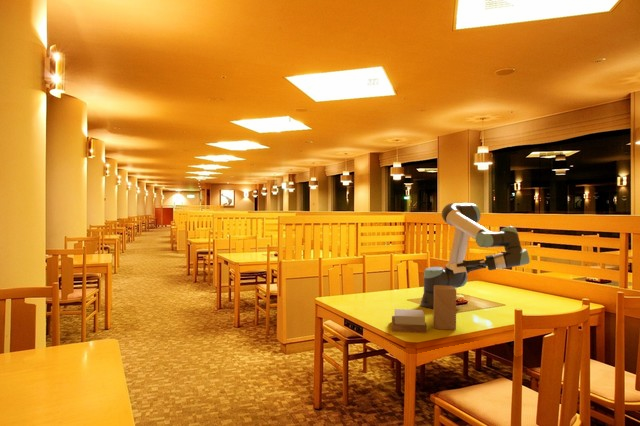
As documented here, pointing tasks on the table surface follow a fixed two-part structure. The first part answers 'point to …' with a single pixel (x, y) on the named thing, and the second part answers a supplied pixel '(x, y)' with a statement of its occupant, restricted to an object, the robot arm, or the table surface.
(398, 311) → the grey slab
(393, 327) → the walnut slab
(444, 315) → the wooden block
